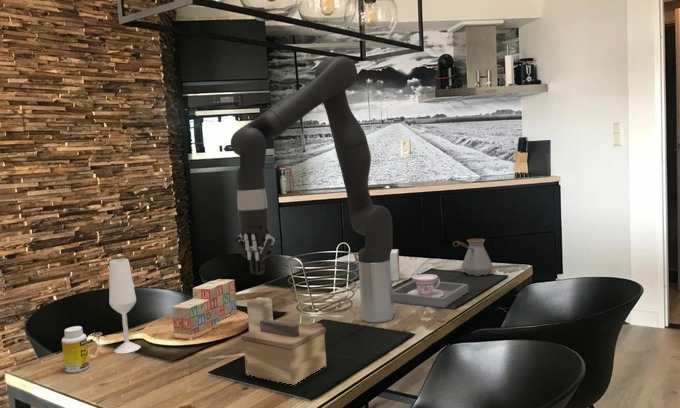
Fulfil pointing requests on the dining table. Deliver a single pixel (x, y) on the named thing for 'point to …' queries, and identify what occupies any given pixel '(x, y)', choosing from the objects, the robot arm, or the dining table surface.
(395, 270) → the small box
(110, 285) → the champagne flute
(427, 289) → the teacup
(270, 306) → the key block
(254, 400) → the dining table surface
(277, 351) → the open wooden box
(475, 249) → the coffee pot
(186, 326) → the stack of blocks
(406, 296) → the coaster tray
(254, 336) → the lid
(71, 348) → the supplement bottle
